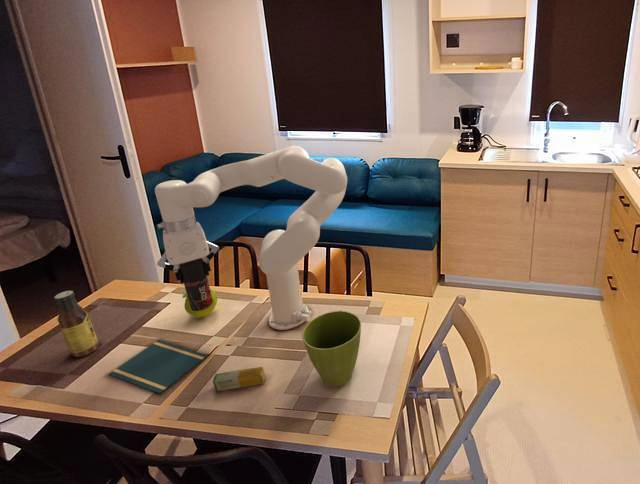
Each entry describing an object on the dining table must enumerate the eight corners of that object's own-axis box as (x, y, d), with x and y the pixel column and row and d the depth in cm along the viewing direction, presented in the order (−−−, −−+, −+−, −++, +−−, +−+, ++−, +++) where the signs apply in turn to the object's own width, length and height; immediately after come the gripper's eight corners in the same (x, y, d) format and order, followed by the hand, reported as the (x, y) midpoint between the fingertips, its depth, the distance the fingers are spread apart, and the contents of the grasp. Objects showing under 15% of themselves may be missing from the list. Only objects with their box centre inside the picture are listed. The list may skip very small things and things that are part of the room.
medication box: (215, 392, 102) (211, 382, 101) (219, 383, 105) (215, 373, 103) (264, 384, 104) (260, 373, 103) (266, 375, 107) (263, 365, 105)
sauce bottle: (104, 347, 118) (84, 291, 112) (78, 361, 113) (56, 303, 106) (92, 340, 121) (72, 285, 114) (67, 354, 115) (44, 297, 109)
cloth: (207, 356, 114) (207, 354, 114) (160, 394, 102) (159, 392, 101) (159, 340, 120) (158, 339, 120) (109, 374, 108) (108, 373, 108)
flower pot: (302, 371, 109) (295, 324, 104) (352, 348, 117) (348, 303, 112) (319, 409, 97) (312, 358, 92) (374, 381, 105) (370, 332, 100)
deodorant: (202, 312, 116) (191, 268, 111) (186, 309, 117) (173, 266, 113) (217, 300, 122) (207, 258, 117) (201, 298, 123) (190, 256, 118)
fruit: (182, 317, 131) (175, 292, 128) (210, 302, 138) (205, 278, 135) (196, 327, 126) (190, 301, 123) (225, 311, 134) (219, 286, 131)
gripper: (143, 236, 103) (160, 294, 109) (216, 219, 113) (229, 273, 118) (143, 227, 109) (159, 282, 114) (213, 211, 118) (225, 262, 124)
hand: (194, 277), depth 116 cm, fingers closed on deodorant, 6 cm apart
